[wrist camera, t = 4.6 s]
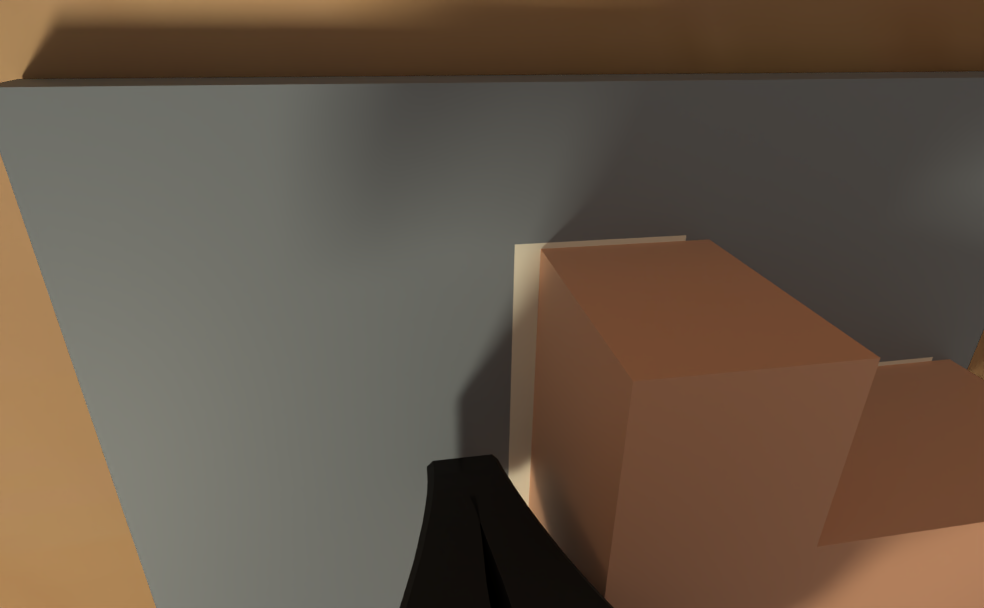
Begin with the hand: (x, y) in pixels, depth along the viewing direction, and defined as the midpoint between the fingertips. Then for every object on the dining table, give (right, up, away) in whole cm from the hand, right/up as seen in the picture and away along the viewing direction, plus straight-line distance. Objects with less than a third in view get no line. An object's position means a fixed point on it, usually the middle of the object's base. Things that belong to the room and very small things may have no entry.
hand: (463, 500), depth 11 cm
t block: (+6, +1, +2) cm, 6 cm away
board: (+2, -1, +3) cm, 4 cm away
